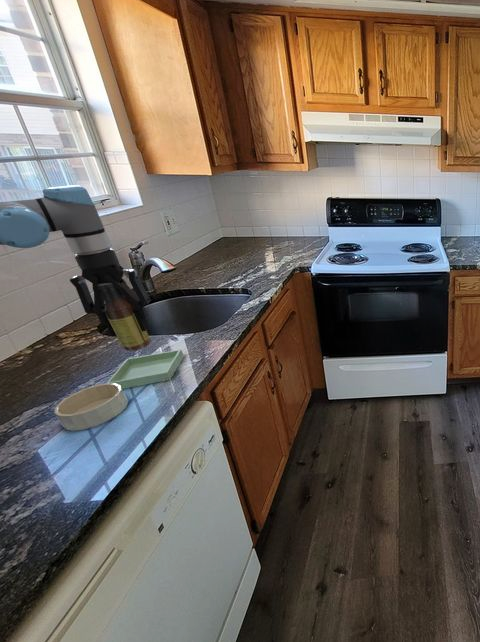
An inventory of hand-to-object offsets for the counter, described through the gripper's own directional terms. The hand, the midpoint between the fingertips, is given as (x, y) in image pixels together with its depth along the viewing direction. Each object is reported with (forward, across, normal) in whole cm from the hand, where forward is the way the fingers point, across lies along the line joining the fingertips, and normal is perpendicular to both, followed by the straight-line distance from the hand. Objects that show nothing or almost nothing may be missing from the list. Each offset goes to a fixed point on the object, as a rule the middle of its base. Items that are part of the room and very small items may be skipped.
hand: (130, 331), depth 101 cm
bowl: (+14, +6, +16) cm, 22 cm away
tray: (+14, 0, 0) cm, 14 cm away
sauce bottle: (+5, 0, 0) cm, 5 cm away
